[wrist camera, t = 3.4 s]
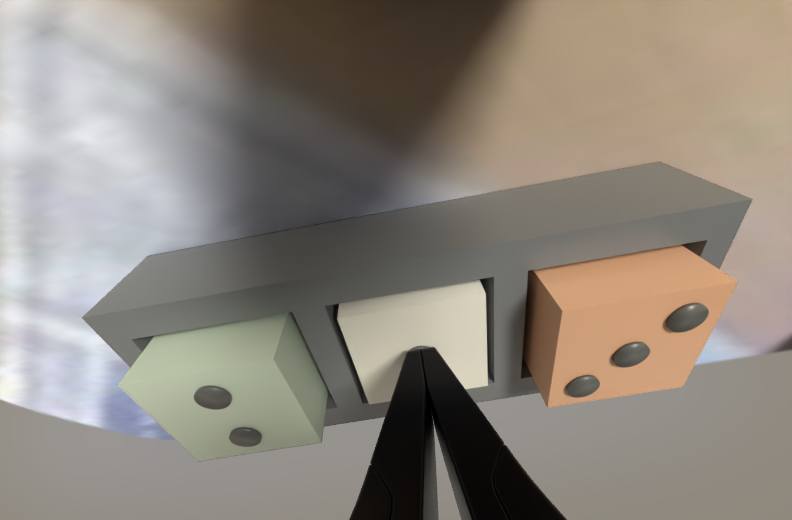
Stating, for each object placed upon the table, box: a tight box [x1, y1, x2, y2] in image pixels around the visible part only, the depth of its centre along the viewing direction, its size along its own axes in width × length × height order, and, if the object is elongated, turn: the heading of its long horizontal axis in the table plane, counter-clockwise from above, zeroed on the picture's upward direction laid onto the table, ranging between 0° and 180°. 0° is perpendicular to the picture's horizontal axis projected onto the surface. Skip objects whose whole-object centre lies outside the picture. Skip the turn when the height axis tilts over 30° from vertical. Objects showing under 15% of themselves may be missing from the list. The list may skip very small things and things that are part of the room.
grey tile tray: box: [82, 162, 752, 426], centre depth 11 cm, size 17×7×3 cm, turn 100°
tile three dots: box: [522, 245, 738, 407], centre depth 10 cm, size 4×4×3 cm
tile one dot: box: [337, 279, 488, 404], centre depth 11 cm, size 4×4×3 cm
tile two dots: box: [118, 312, 328, 461], centre depth 10 cm, size 4×4×3 cm
